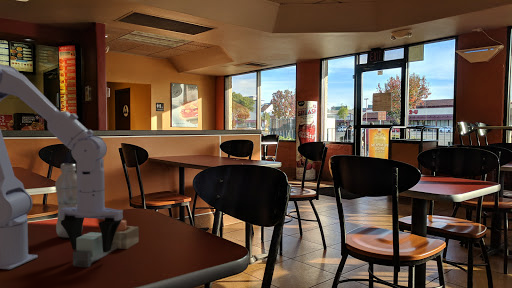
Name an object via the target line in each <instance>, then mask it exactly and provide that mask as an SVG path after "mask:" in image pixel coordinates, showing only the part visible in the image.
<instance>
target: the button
mask: <svg viewBox="0 0 512 288" xmlns="http://www.w3.org/2000/svg"><path fill="white" fill-rule="evenodd" d="M126 226H127V220H126V219H121V222H120V224H119V226H118V228H117V230H116V231H121V232H124V231H125V230H126Z"/></svg>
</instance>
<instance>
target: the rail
mask: <svg viewBox="0 0 512 288" xmlns="http://www.w3.org/2000/svg"><path fill="white" fill-rule="evenodd" d="M117 249H119V248H118V242H112V247H111V250H110V251H108V252H102V253H100V254H98V255H97V256H95V257H91V251H79V250H72V251H73V252H72V266H73V267H79V268H90V267H91V266H92V264H93V263H94V262H96V261H98V260H99V259H101V258H103V257H105V256H107V255H109V254H110V253H113V252H114V251H115V250H117Z"/></svg>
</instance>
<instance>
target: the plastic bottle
mask: <svg viewBox="0 0 512 288" xmlns="http://www.w3.org/2000/svg"><path fill="white" fill-rule="evenodd" d="M59 170H60V172H61V174H60V175H59V176H58V177H57V179H56V180H55V183H54V186H55V192H56V197H57V198H56V199H57V221H56V224H55V225H56V228H55V231H56V234H57V236H58V237H60V238H68V239H69V236H68V234H67V232H66V231H65V229H64V227H63V226H62V225H61V221H62V220H64V218H65V217H64V218H63V217H60V209H62V208H65V207H77V163H73V162H72V163H61V164H60V169H59ZM83 228H84V225H83V226H82V230H83Z"/></svg>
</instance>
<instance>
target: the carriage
mask: <svg viewBox="0 0 512 288" xmlns="http://www.w3.org/2000/svg"><path fill="white" fill-rule="evenodd" d="M76 247H77V250H79V251H91V257H95V256H97V255H98V254H100V253H102V252H103V248H102V234H101V232H93V231H91V232H87V233H84V234H82V236H81V237H78V238H76Z"/></svg>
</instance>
